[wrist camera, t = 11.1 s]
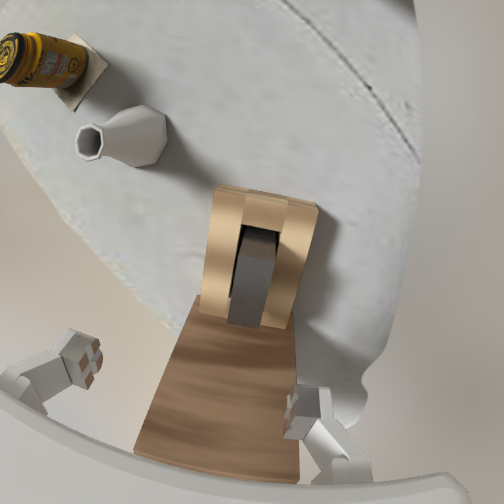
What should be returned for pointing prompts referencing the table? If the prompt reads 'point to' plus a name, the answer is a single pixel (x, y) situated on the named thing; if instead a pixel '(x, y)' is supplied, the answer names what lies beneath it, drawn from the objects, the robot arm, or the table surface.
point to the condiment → (50, 64)
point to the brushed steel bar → (252, 277)
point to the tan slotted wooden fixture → (235, 354)
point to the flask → (125, 137)
